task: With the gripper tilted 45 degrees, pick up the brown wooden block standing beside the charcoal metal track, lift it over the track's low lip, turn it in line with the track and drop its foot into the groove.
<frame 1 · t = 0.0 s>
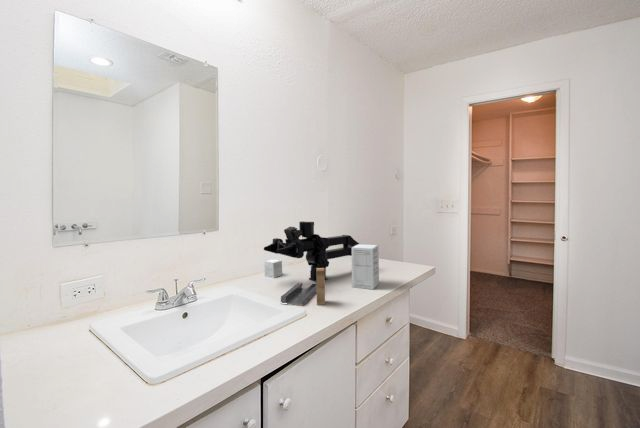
hand: (270, 250, 124), 17 cm above the counter, tool horizontal, fingers open, 9 cm apart
product box: (273, 276, 150), on the counter
supplement box: (365, 286, 132), on the counter
bottom track: (300, 296, 118), on the counter
brown wooden block: (320, 302, 111), on the counter
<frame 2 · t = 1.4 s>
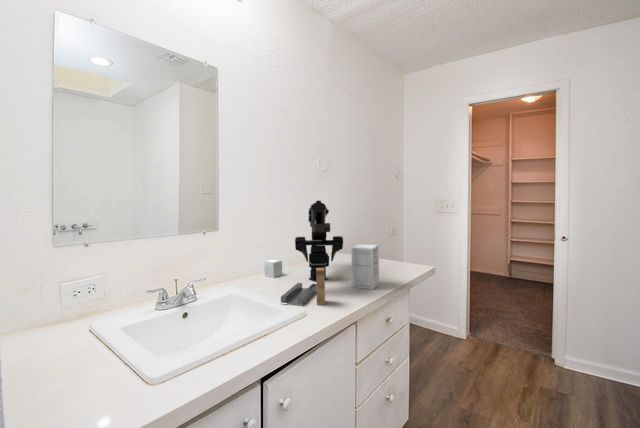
hand: (319, 261, 118), 13 cm above the counter, tool tilted 45°, fingers open, 9 cm apart
nothing on the counter moved.
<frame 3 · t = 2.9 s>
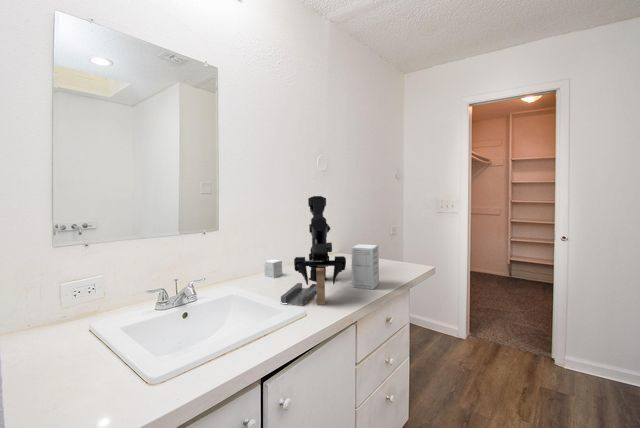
hand: (320, 284, 110), 7 cm above the counter, tool tilted 45°, fingers open, 9 cm apart
nothing on the counter moved.
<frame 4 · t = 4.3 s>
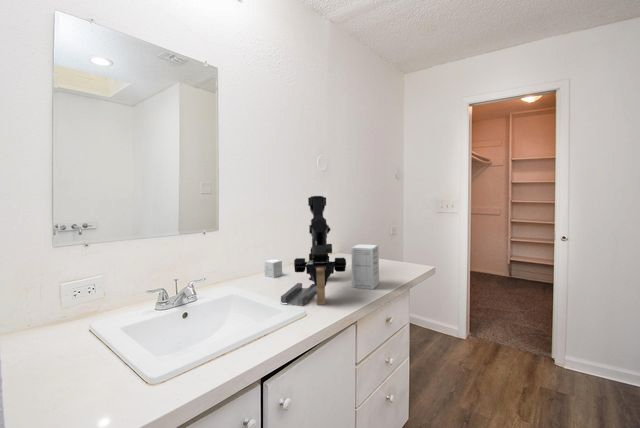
hand: (320, 285, 109), 7 cm above the counter, tool tilted 45°, fingers closed on brown wooden block, 3 cm apart
brown wooden block: (320, 302, 111), on the counter, touching gripper
everything else where it was.
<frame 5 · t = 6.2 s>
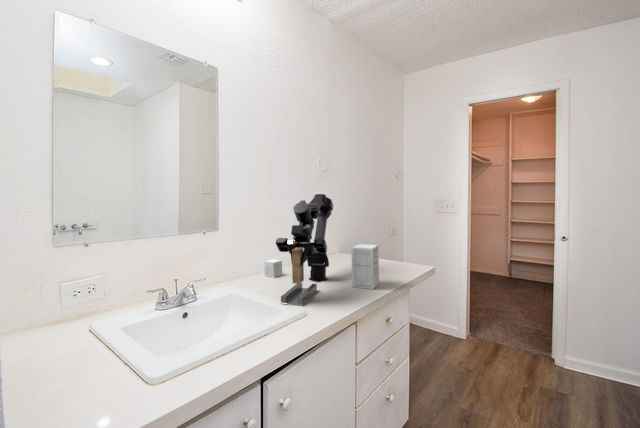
hand: (296, 264, 112), 13 cm above the counter, tool tilted 45°, fingers closed on brown wooden block, 3 cm apart
brown wooden block: (298, 281, 114), point 7 cm above the counter, touching gripper
everything else where it was.
when the fingers open (9 cm above the counter, at t = 8.0 s): brown wooden block drops 1 cm, resting on bottom track.
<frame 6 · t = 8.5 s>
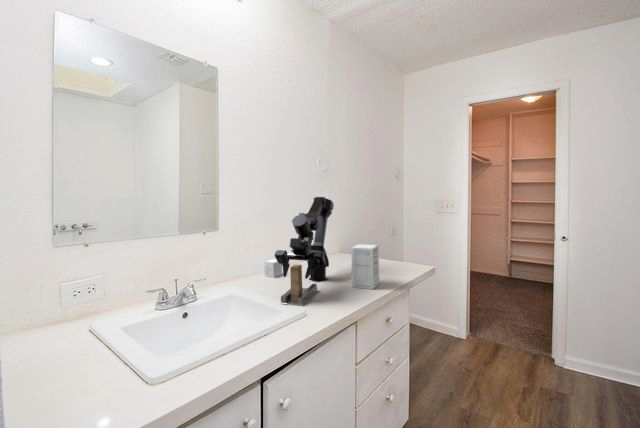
hand: (294, 277, 113), 9 cm above the counter, tool tilted 45°, fingers open, 8 cm apart
brown wooden block: (296, 298, 114), point 1 cm above the counter, touching bottom track
everything else where it was.
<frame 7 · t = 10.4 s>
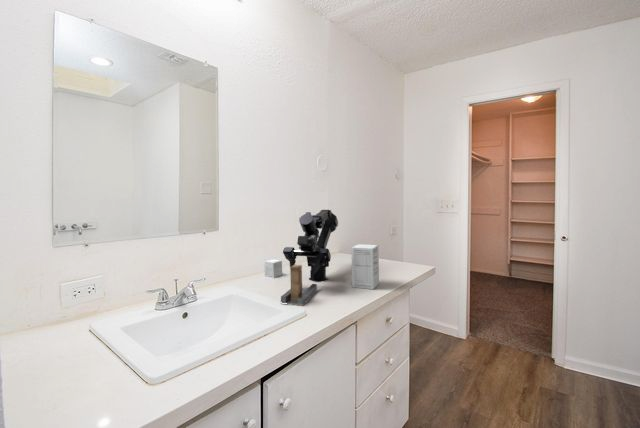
hand: (302, 272, 121), 8 cm above the counter, tool tilted 45°, fingers open, 9 cm apart
nothing on the counter moved.
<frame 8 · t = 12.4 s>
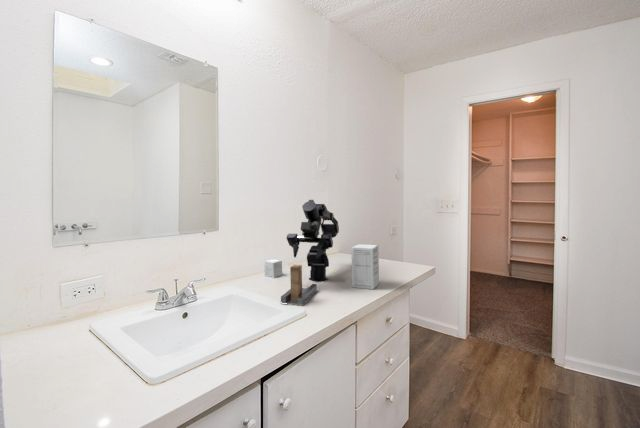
hand: (305, 257, 124), 14 cm above the counter, tool tilted 45°, fingers open, 9 cm apart
nothing on the counter moved.
at the end: brown wooden block inside the target area on the bottom track (0.8 cm from its centre), point 0.6 cm above the bottom track's base; brown wooden block tilted 0°; the gripper is holding nothing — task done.
